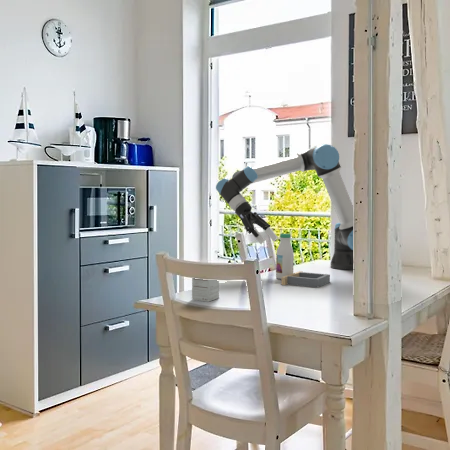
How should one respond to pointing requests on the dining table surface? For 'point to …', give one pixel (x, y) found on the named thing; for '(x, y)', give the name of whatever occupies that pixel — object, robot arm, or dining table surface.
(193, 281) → the supplement box
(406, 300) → the dining table surface
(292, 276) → the tray
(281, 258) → the milk bottle
